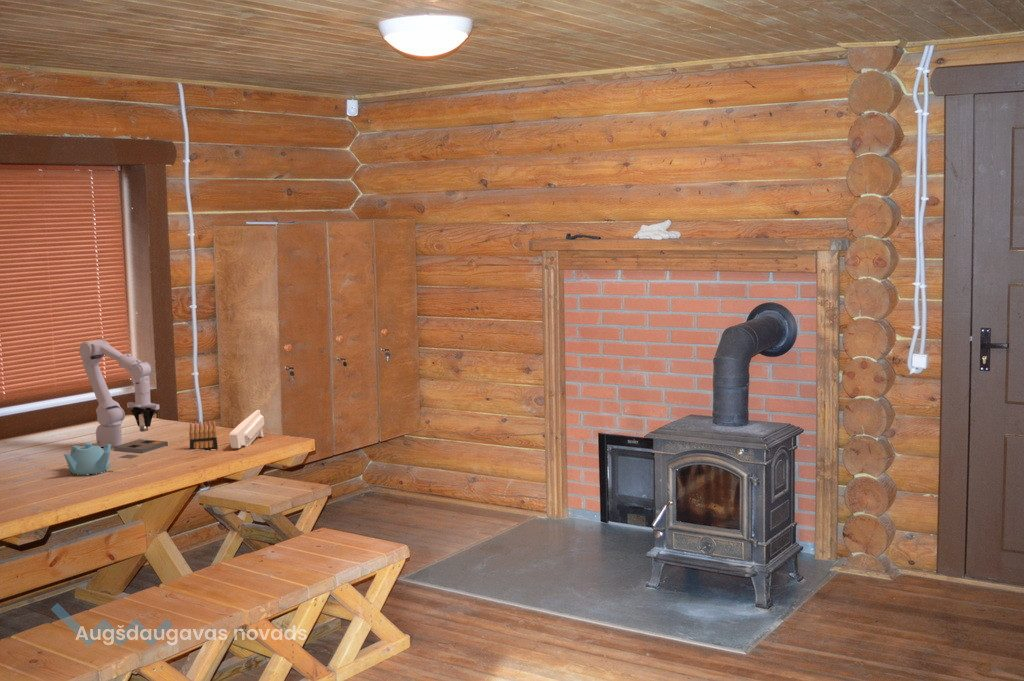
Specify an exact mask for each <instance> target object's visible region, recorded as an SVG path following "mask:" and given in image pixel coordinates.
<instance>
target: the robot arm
mask: <svg viewBox="0 0 1024 681" xmlns="http://www.w3.org/2000/svg"><path fill="white" fill-rule="evenodd" d="M78 352H79V355H80V357H81V359H82V367H83V369H84V371H85V374H86V376H87V379H88V381H89V383H90V387H91V388H92V391H93V393H94V396H95V398H96V400H97V403H98V406H97V407H96V409H95V412H96V419H97V422H98V424H99V425H98V426H97V428H96V430H95V437H96V440H95V441H96V446H100V447H104V448H105V446H106V444H111V447H115V446H118V445H121V444H123V442H122V440H123V439H122V438H123V437H122V436H123V435H122V424H123V421H124V420H125V416H126V413H125V411H124V409H123V408H122V407H121V406H120V403H119V402H118V401H116V400H114V399H113V397H112V395H111V392H110V391H109V390H110V389H109V387H108V385H107V382H106V380H105V378H104V376H103V373H102V370H101V368H100V365H99V363H100V362H101V360H102V359H103V358H104V357H105V356H106V357H108V358H110V359H112V360H115V361H116V362H118V365H119V366H120V367H121V368H123V369H124V370H126V371H127V372H129V373H130V374H131V377H132V381H133V382H134V399H135V402H133V401H132V402H130V401H129V402H127V403H126V407H127V408H128V409H129V408H132V409H130V412H131V413H132V415H133V417H134V418H135V421H136V424H137V427H139V416H138V414H139V413H143V415H144V419H145V427H148V428H149V427H151V425H152V419H153V416H154V414H155V413H156V411H157V410H158V411H159V410H160V403H159V404H158V403H154V402H151V385H150V384H151V383H150V381H151V380H150V376H151V375H152V373H153V366H152V365H151V363H150V362H148V361H141V359H138V358H136V357H135V356H133V354H131V353H122V352H120V351H119V350H117V349H116V348H115V347H113V346H112V345H111V344H110V342H109V341H106V340H105V339H102V338H99V339H93V340H88V341H87V340H86V341H82V342H81V344H80V346H79V349H78ZM104 448H103V449H104Z"/></svg>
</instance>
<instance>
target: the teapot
mask: <svg viewBox="0 0 1024 681" xmlns="http://www.w3.org/2000/svg"><path fill="white" fill-rule="evenodd" d="M83 445H84V446H80V445H77V444H75V445H72V446H71V448H70V449H71V450H70V453H65V454H63V456H64V458H65V461H66V464H67V466H68V470H69V471H70V473H72V474H73V475H75V474H78V475H77V476H88V475H87V474H95V475H97V474H96V473H100V474H102V473H101V472H103V473H105V472H107V470H108V469H109V467H110V466H111V463H110V457H111V456H110V455H111V449H112V446H111V444H106V446H105V448H101V447H100V446H97V445H93V442H85V443H84V444H83ZM104 471H105V472H104Z"/></svg>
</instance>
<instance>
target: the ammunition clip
mask: <svg viewBox="0 0 1024 681" xmlns="http://www.w3.org/2000/svg"><path fill="white" fill-rule="evenodd" d="M211 423H212V424H211ZM216 425H217V424H216V421H215V420H212V422H211V421H210V420H208V424H207V422H206V420H204V421H203V423H202V421H199V424H198V423H197V421H194V426H193V422H192V421H190V423H189V450H192V451H193V450H209V451H212V450H211V449H218V437H217V433H218V432H217V427H216Z"/></svg>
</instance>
